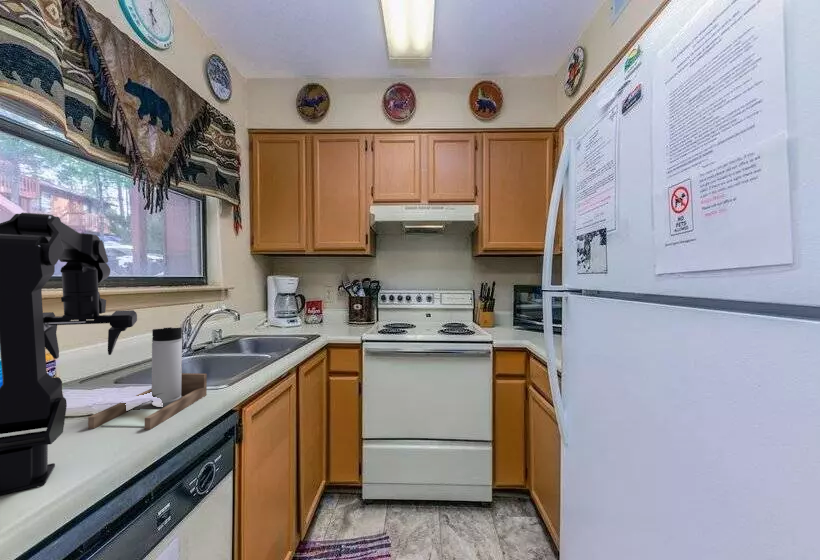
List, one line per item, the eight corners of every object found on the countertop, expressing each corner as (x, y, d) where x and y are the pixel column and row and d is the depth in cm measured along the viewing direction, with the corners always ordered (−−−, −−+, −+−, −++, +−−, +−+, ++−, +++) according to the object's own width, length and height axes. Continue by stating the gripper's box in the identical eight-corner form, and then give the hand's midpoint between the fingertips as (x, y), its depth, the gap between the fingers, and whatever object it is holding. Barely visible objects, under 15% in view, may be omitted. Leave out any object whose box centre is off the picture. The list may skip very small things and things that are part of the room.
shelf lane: (150, 429, 73) (150, 402, 73) (88, 428, 73) (88, 400, 73) (206, 395, 94) (206, 373, 93) (158, 394, 93) (158, 372, 93)
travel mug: (151, 410, 83) (151, 329, 82) (151, 401, 88) (152, 325, 88) (181, 404, 86) (182, 327, 86) (180, 397, 92) (181, 323, 91)
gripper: (141, 283, 87) (142, 341, 89) (39, 283, 78) (44, 347, 80) (130, 292, 78) (132, 357, 80) (13, 293, 69) (19, 366, 71)
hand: (84, 356), depth 78 cm, fingers open, 9 cm apart
